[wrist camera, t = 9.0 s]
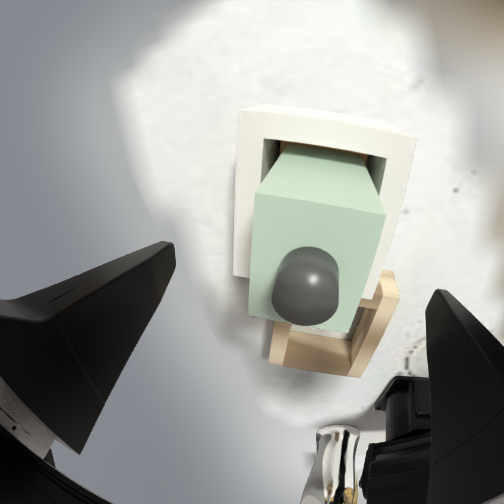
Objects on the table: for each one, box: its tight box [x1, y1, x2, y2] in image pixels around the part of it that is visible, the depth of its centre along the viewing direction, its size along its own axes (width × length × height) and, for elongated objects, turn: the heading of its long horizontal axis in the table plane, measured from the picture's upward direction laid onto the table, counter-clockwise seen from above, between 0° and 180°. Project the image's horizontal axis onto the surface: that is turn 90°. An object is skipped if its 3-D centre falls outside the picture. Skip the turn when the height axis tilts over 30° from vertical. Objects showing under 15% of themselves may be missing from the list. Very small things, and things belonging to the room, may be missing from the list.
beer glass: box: [300, 425, 360, 504], centre depth 28 cm, size 7×7×15 cm
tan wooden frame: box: [268, 270, 400, 378], centre depth 22 cm, size 9×8×3 cm
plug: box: [247, 144, 386, 333], centre depth 13 cm, size 5×4×10 cm
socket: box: [233, 104, 417, 300], centre depth 16 cm, size 9×8×5 cm
